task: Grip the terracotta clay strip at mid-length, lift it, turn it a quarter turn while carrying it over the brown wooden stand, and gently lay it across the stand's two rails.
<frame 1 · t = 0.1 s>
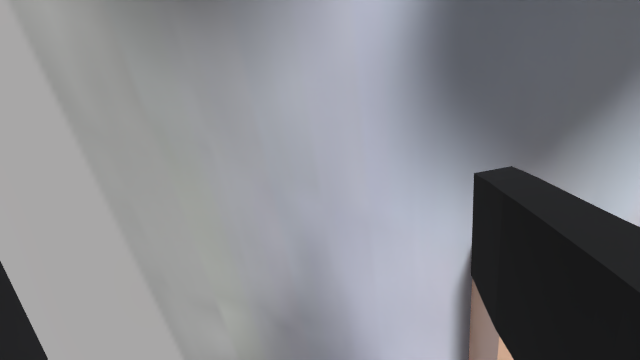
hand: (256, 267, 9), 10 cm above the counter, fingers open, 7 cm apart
clay strip: (508, 349, 27), on the counter
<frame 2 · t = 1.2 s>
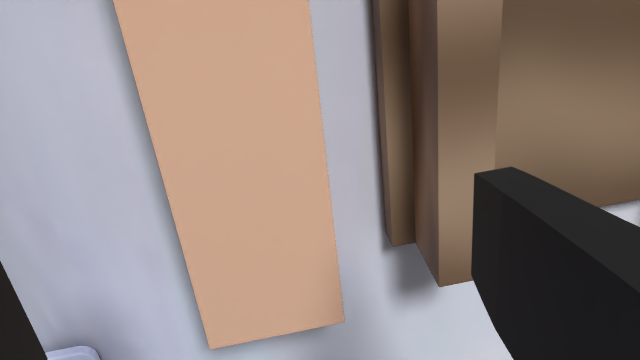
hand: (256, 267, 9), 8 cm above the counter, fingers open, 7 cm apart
clay strip: (230, 75, 17), on the counter
brown wooden stand: (580, 23, 17), on the counter
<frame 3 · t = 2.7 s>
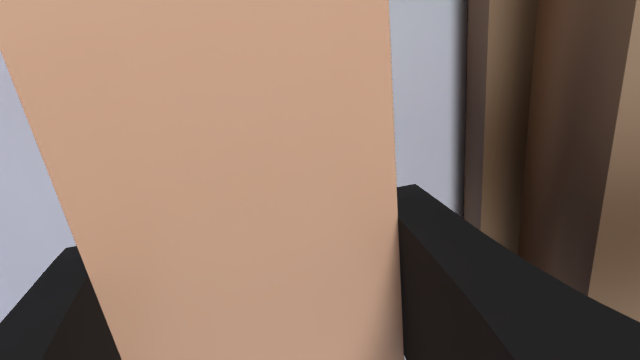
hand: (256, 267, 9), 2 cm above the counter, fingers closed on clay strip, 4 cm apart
clay strip: (247, 202, 11), on the counter, touching gripper
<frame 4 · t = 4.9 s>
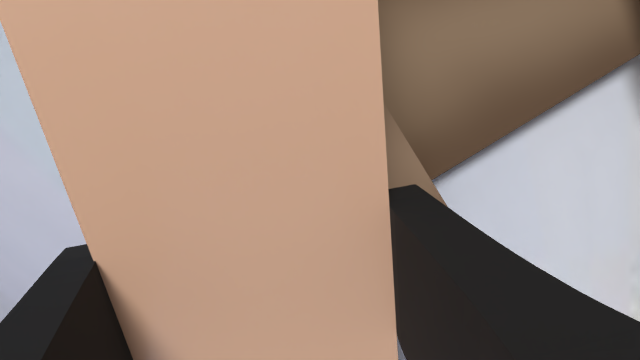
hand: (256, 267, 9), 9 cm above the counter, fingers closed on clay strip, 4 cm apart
clay strip: (243, 178, 11), point 6 cm above the counter, touching gripper
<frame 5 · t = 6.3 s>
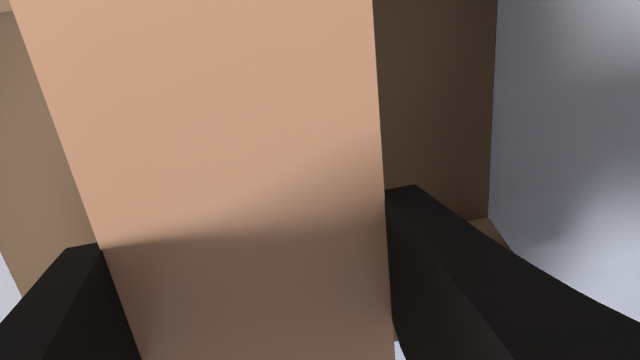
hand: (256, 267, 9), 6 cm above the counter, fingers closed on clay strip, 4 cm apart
clay strip: (245, 165, 11), point 3 cm above the counter, touching gripper
brown wooden stand: (237, 115, 14), on the counter
when the fingers open (6 cm above the counter, at t = 7.2 s): clay strip stays where it is, resting on brown wooden stand.
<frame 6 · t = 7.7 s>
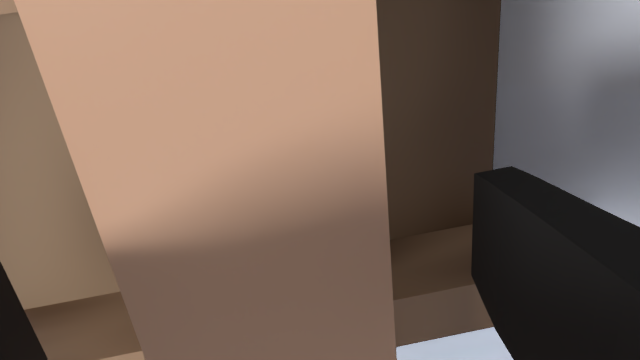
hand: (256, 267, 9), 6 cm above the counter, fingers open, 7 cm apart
clay strip: (244, 163, 11), point 3 cm above the counter, touching brown wooden stand
brown wooden stand: (237, 118, 14), on the counter
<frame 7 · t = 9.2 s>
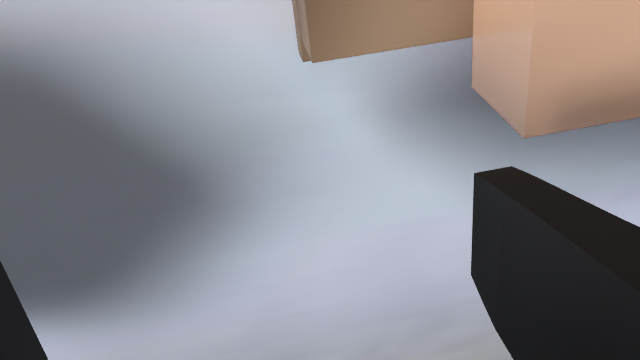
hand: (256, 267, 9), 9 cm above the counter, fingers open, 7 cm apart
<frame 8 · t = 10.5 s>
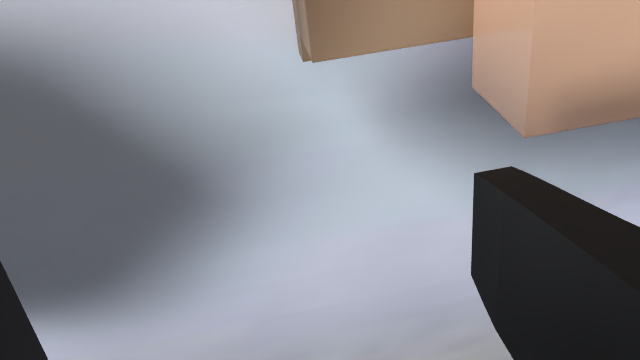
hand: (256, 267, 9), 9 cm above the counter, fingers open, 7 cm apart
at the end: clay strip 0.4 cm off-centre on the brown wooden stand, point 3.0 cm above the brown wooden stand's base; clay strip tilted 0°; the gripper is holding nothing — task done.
